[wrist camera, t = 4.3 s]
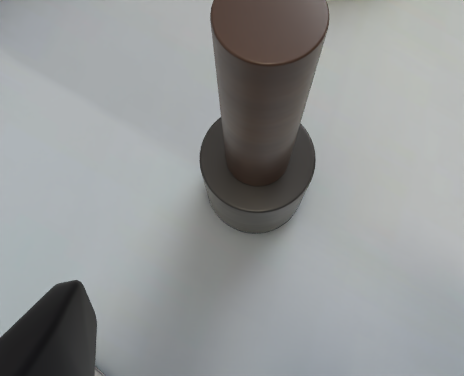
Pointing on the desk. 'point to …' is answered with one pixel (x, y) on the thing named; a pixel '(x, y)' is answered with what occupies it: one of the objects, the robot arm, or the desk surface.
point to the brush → (262, 109)
